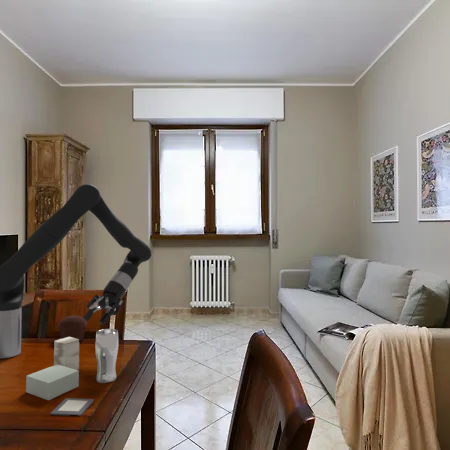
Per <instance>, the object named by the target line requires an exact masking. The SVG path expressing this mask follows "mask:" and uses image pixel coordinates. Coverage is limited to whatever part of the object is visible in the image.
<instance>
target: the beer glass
mask: <svg viewBox="0 0 450 450" xmlns="http://www.w3.org/2000/svg"><path fill="white" fill-rule="evenodd" d="M95 333H96V334H95V343H94V345H95V346H94V347H95V357H96V364H97V365H96V366H97V373H96V377H95V380H96V382H97V383H99V384H106V383H111V382H114V381H115V380H117V373H116V365H117V357H118V353H119V331H118V329H115V328H103V329H99V330H97V331H96V332H95Z"/></svg>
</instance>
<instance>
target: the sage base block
mask: <svg viewBox="0 0 450 450" xmlns="http://www.w3.org/2000/svg"><path fill="white" fill-rule="evenodd" d="M79 373H80V370H79V369H77V370H75V369H72V368H68V367H65V366H61V365H58V364H57V365H54V364H53V365H52V366H49V367H47V368H44V369H43V368H42V369H41V370H38V371H36V372H32V373H30V374H28V375H26V378H25V379H26V381H25V392H26V393H28V394H30V395H32V396H36V397H37V398H38V397H39V398H42V399H44V400H47V401H51V400H53V399H54V398H56V397H59V396H61V395H63V394H65V393H68V392H69V391H72V390H74V389H76V388H78V387H79V386H80V382H79V381H80V377H79V376H80V374H79Z"/></svg>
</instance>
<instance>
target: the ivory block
mask: <svg viewBox="0 0 450 450" xmlns="http://www.w3.org/2000/svg"><path fill="white" fill-rule="evenodd" d="M53 347H54V348H53V349H54V350H53V366H54V365H57V364H58V365H61V366H65V367H68V368H72V369H75V370H79V369H80V342H79V339H76V338H72V337H66V338H63V339H61V338H59V339H57V340H54V346H53Z"/></svg>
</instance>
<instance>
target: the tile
mask: <svg viewBox="0 0 450 450" xmlns="http://www.w3.org/2000/svg"><path fill="white" fill-rule="evenodd" d="M94 402H95V398H74V397H73V398H72V397H70V398H69V397H66V398H65V399H64V400H62V402H60V403H59V404H58V405H57V406H56V407H55V408H54V409H53V410H52V411H51V412H50V413H49V414H50V416H52V414H53V416H70V415H78V416H77V417H81V416H83V414H85V412H86V411H87V410H88V409H89V408H90V406H91V405H92V404H93V403H94Z"/></svg>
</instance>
